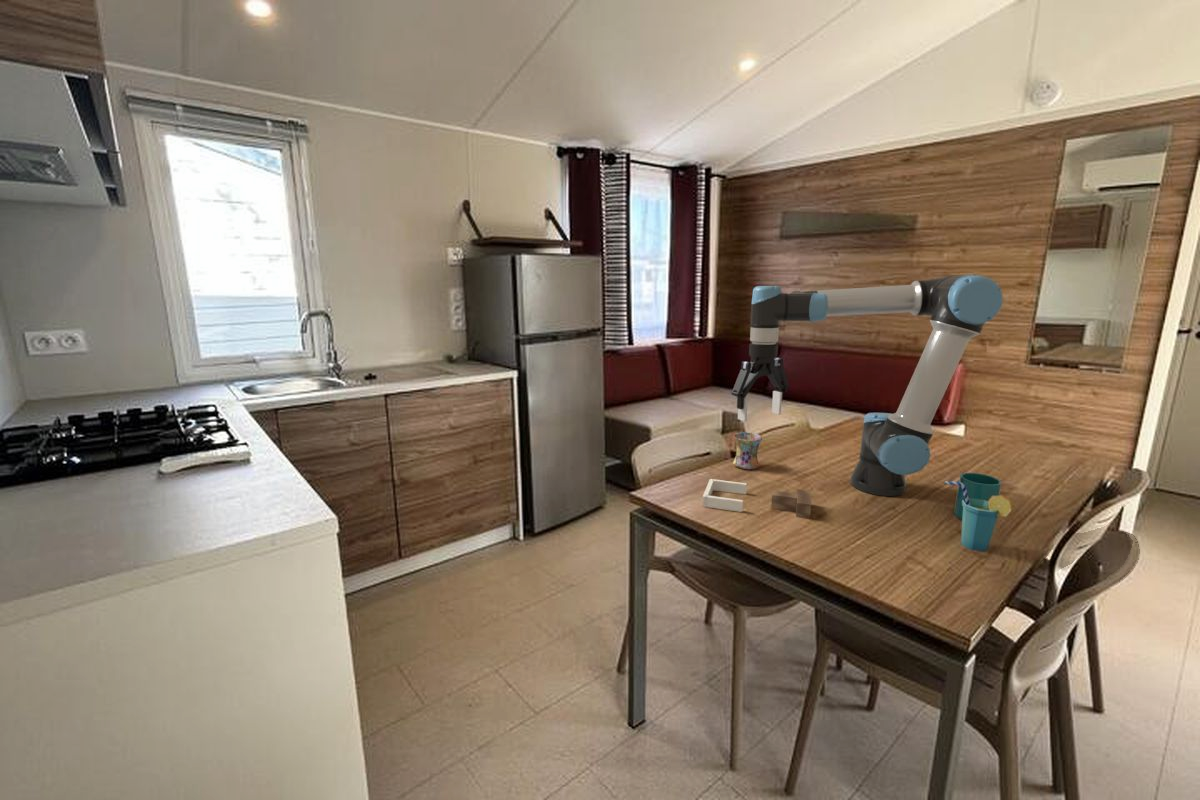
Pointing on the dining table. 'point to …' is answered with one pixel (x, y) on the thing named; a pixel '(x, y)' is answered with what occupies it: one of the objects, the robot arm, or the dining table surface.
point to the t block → (793, 502)
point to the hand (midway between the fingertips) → (759, 416)
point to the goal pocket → (720, 501)
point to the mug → (747, 450)
